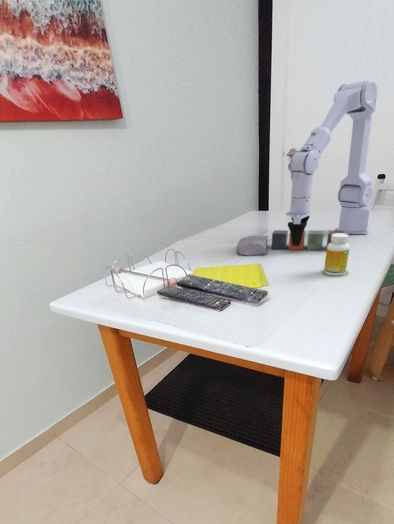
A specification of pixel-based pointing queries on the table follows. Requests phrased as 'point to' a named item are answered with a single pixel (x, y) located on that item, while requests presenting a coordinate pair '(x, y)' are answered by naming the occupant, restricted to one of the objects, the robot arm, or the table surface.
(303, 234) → the terracotta block
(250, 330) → the table surface
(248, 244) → the stone block
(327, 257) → the supplement bottle
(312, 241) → the block row
